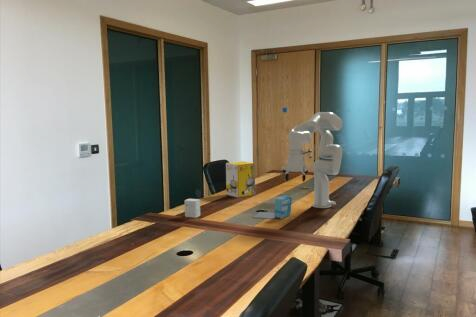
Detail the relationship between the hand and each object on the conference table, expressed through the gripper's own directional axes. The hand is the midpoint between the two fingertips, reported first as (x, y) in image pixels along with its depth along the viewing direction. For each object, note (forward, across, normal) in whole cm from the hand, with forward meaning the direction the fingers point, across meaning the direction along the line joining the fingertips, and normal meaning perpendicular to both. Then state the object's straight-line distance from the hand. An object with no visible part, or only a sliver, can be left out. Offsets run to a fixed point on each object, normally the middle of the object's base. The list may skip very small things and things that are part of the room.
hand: (295, 181), depth 238 cm
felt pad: (+22, +18, 0) cm, 29 cm away
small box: (+23, +61, +15) cm, 67 cm away
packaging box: (+23, +54, -56) cm, 81 cm away
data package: (+22, +8, 0) cm, 24 cm away
